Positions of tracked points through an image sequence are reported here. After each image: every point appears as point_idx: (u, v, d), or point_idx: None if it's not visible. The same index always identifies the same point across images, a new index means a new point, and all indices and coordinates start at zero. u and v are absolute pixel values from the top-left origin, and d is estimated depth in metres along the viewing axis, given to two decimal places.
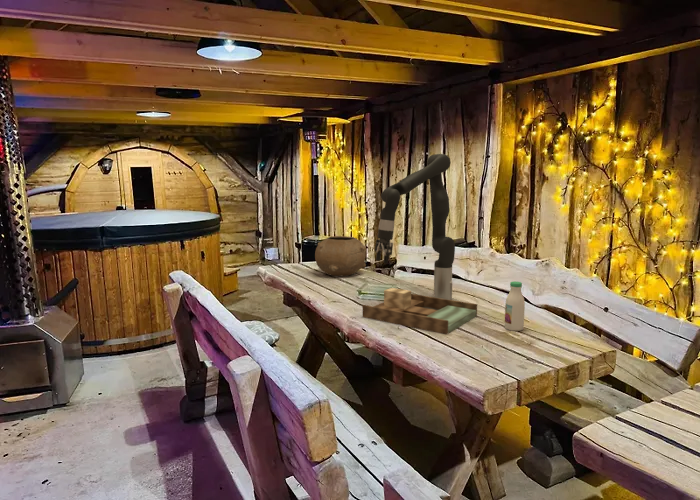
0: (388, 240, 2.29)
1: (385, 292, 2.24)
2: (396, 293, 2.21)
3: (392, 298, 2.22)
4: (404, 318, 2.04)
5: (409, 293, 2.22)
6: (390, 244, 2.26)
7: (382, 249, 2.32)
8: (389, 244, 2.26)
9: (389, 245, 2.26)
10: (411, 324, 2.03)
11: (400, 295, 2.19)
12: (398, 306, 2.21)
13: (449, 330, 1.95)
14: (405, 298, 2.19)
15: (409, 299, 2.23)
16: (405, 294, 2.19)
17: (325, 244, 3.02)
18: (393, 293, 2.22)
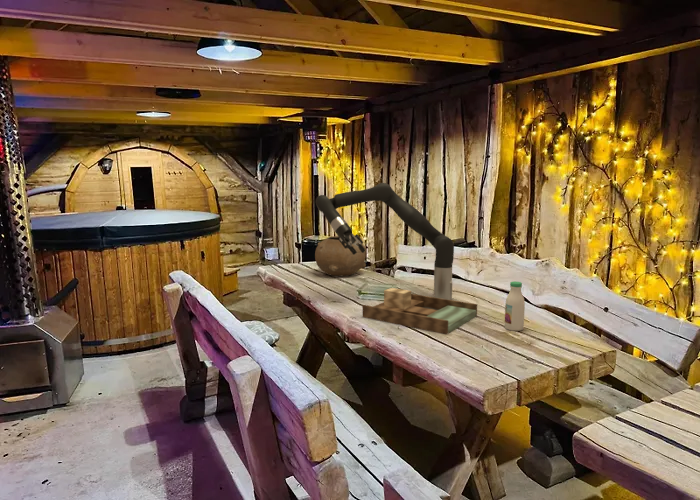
0: (342, 235, 2.35)
1: (385, 292, 2.24)
2: (396, 293, 2.21)
3: (392, 298, 2.22)
4: (404, 318, 2.04)
5: (409, 293, 2.22)
6: (340, 239, 2.32)
7: None
8: (340, 240, 2.32)
9: (340, 241, 2.32)
10: (411, 324, 2.03)
11: (400, 295, 2.19)
12: (398, 306, 2.21)
13: (449, 330, 1.95)
14: (405, 298, 2.19)
15: (409, 299, 2.23)
16: (405, 294, 2.19)
17: (325, 244, 3.02)
18: (393, 293, 2.22)
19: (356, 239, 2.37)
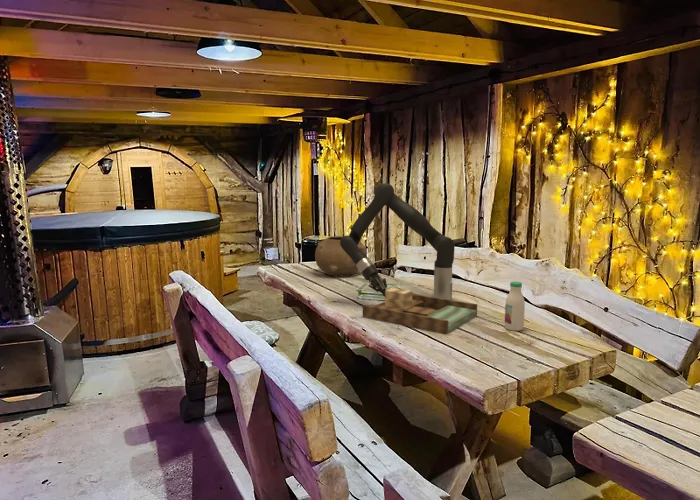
0: (368, 277, 2.28)
1: (386, 292, 2.24)
2: (397, 293, 2.20)
3: (393, 298, 2.22)
4: (404, 318, 2.04)
5: (410, 293, 2.22)
6: (371, 285, 2.26)
7: None
8: (370, 286, 2.26)
9: (371, 286, 2.26)
10: (411, 324, 2.03)
11: (401, 295, 2.19)
12: (399, 306, 2.20)
13: (449, 330, 1.95)
14: (406, 298, 2.19)
15: (410, 299, 2.22)
16: (406, 294, 2.19)
17: (325, 244, 3.02)
18: (394, 294, 2.21)
19: (381, 282, 2.30)
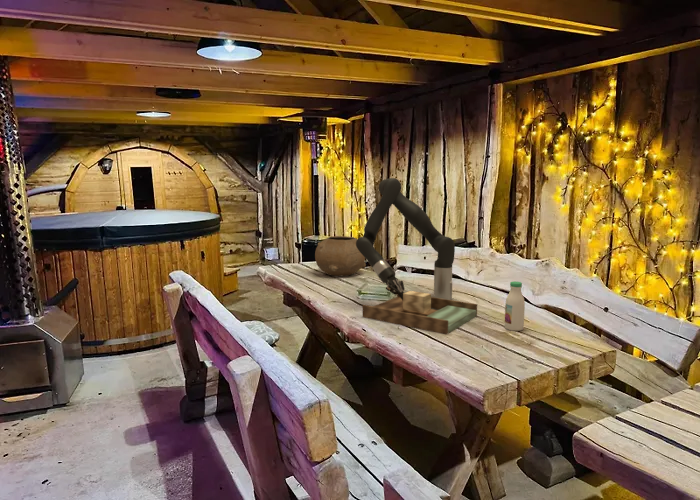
0: (386, 280, 2.23)
1: (404, 295, 2.18)
2: (416, 296, 2.14)
3: (412, 301, 2.16)
4: (404, 318, 2.04)
5: (429, 296, 2.16)
6: (388, 288, 2.20)
7: None
8: (387, 289, 2.20)
9: (388, 289, 2.20)
10: (411, 324, 2.03)
11: (420, 298, 2.13)
12: (418, 310, 2.15)
13: (449, 330, 1.95)
14: (425, 301, 2.13)
15: (429, 302, 2.16)
16: (425, 297, 2.13)
17: (325, 244, 3.02)
18: (412, 297, 2.15)
19: (398, 284, 2.24)
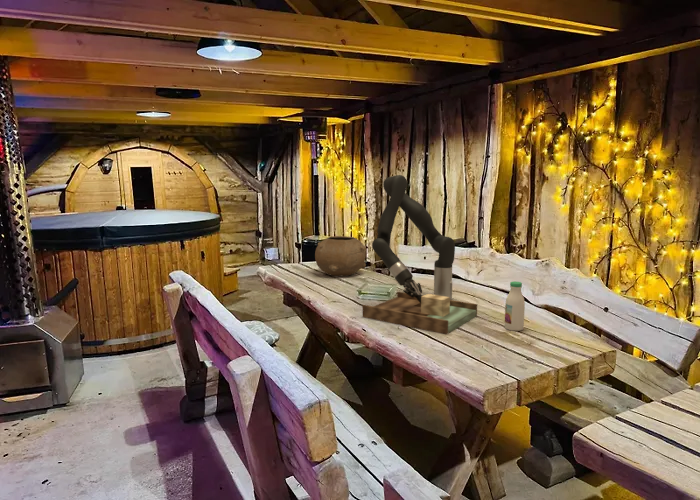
0: (403, 282, 2.17)
1: (422, 298, 2.12)
2: (434, 299, 2.09)
3: (430, 305, 2.10)
4: (404, 318, 2.04)
5: (448, 299, 2.10)
6: (406, 291, 2.14)
7: None
8: (405, 291, 2.14)
9: (406, 292, 2.15)
10: (411, 324, 2.03)
11: (439, 302, 2.07)
12: (436, 313, 2.09)
13: (449, 330, 1.95)
14: (444, 305, 2.07)
15: (448, 306, 2.10)
16: (444, 301, 2.07)
17: (325, 244, 3.02)
18: (431, 300, 2.10)
19: (416, 287, 2.18)
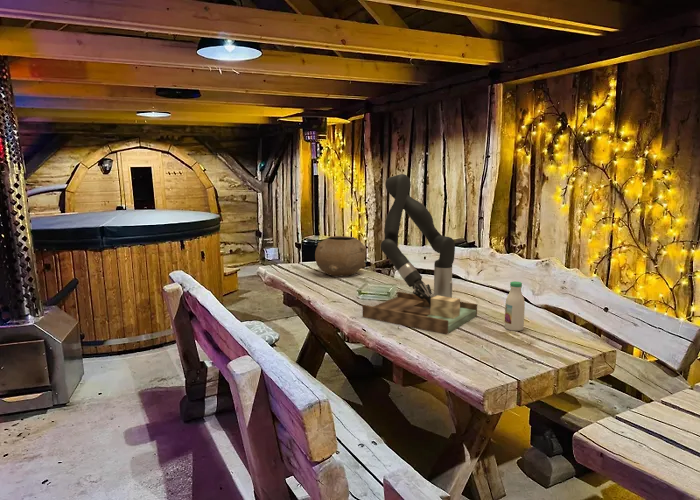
0: (412, 284, 2.14)
1: (432, 300, 2.09)
2: (444, 301, 2.06)
3: (440, 307, 2.07)
4: (404, 318, 2.04)
5: (458, 301, 2.07)
6: (415, 292, 2.11)
7: None
8: (415, 293, 2.12)
9: (415, 293, 2.12)
10: (411, 324, 2.03)
11: (449, 303, 2.04)
12: (446, 315, 2.06)
13: (449, 330, 1.95)
14: (454, 307, 2.04)
15: (458, 308, 2.07)
16: (454, 302, 2.04)
17: (325, 244, 3.02)
18: (441, 302, 2.07)
19: (425, 288, 2.15)
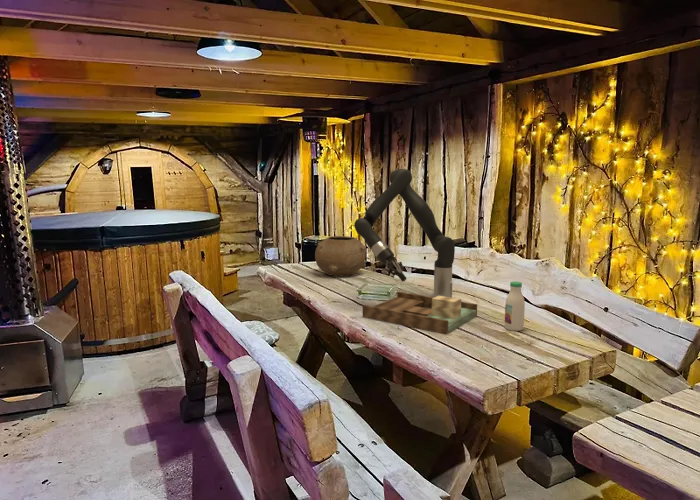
0: (384, 261, 2.21)
1: (433, 300, 2.09)
2: (446, 301, 2.05)
3: (441, 307, 2.07)
4: (404, 318, 2.04)
5: (459, 301, 2.07)
6: (387, 269, 2.19)
7: None
8: (386, 269, 2.19)
9: (387, 270, 2.19)
10: (411, 324, 2.03)
11: (450, 304, 2.04)
12: (448, 315, 2.05)
13: (449, 330, 1.95)
14: (455, 307, 2.04)
15: (459, 308, 2.07)
16: (456, 303, 2.04)
17: (325, 244, 3.02)
18: (442, 302, 2.06)
19: (397, 265, 2.23)
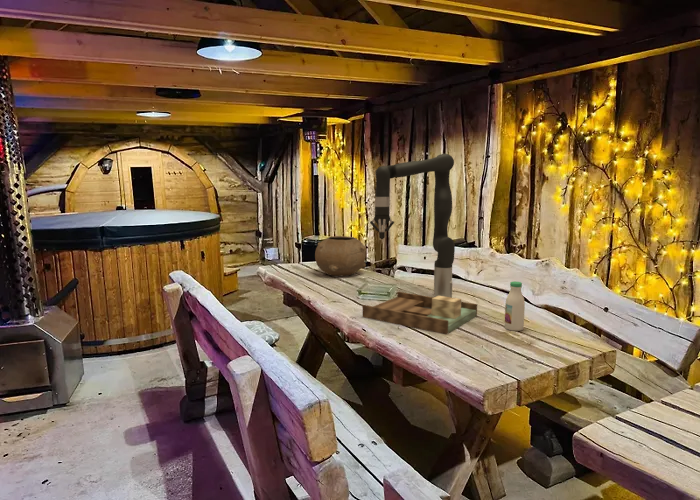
0: None
1: (433, 300, 2.09)
2: (446, 301, 2.05)
3: (441, 307, 2.07)
4: (404, 318, 2.04)
5: (459, 301, 2.07)
6: None
7: None
8: None
9: None
10: (411, 324, 2.03)
11: (450, 304, 2.04)
12: (448, 315, 2.05)
13: (449, 330, 1.95)
14: (455, 307, 2.04)
15: (459, 308, 2.07)
16: (456, 303, 2.04)
17: (325, 244, 3.02)
18: (442, 302, 2.06)
19: (383, 224, 2.42)
